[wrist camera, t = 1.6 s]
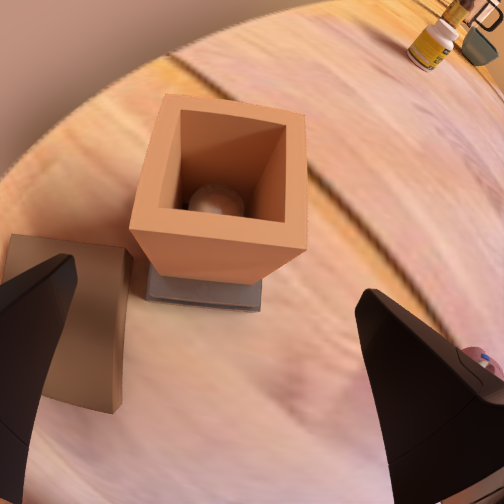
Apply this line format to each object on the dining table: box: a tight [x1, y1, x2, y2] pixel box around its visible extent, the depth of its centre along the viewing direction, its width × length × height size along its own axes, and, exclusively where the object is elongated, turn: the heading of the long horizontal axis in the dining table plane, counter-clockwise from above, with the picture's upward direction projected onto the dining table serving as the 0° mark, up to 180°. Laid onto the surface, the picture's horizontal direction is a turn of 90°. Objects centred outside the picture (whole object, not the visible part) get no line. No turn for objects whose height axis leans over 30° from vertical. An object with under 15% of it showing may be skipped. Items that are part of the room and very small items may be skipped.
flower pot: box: [462, 26, 499, 66], centre depth 40 cm, size 9×9×9 cm
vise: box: [146, 184, 262, 312], centre depth 16 cm, size 8×7×8 cm
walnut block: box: [2, 234, 133, 414], centre depth 15 cm, size 10×9×2 cm
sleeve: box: [129, 94, 308, 285], centre depth 12 cm, size 5×5×8 cm
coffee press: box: [464, 0, 503, 32], centre depth 50 cm, size 17×16×30 cm
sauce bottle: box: [441, 0, 475, 29], centre depth 41 cm, size 7×6×20 cm
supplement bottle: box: [407, 19, 459, 72], centre depth 29 cm, size 5×5×10 cm
